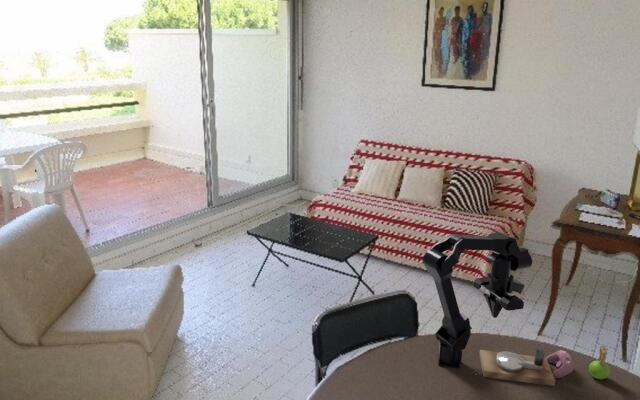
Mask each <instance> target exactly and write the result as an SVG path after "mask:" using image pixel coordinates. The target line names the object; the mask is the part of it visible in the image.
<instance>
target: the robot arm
mask: <svg viewBox="0 0 640 400" xmlns="http://www.w3.org/2000/svg"><path fill="white" fill-rule="evenodd" d="M452 248H453V249H452ZM451 249H452V252H451V253H450V254H449V255H447V254H445V253H443V252H446V251H448V250H451ZM465 251H491V254H489V255H488V256H487V257H486V259H487V260H489V261H491V266H490V267H491V268H490V273H489V272H487V275H486V276H485V277H478V278H477V277H476V278H475V280H473V287H474V288H476V289H477V290H480V289H481V288H482V287H484V290H485V292H484V293H483V297H484V298H485V301H486V303H487V307H488V308H489V310H490V311H489V312H490V314H491V316H492V317H493V318H495V319H497V318H498V316H499V314H500V312H501V311H502V309H504V310H505V311H508V312H509V311H517V310H524V307H525V301H524V300H523V299H521V298H520V297H518V296H516V295H514V294H513V292H514V293H517V294H519V295H521V294H522V293H523V292H524V289H525V286H526V284H525V283H522V282H521V281H519V280H518V279H517V278H516V279H515V278H514V277H515V276H514V275H513V274H511V271H514V272H515V271H520V270H526V269H530V268H531V267H532V265H533V259H532V256H531V254H530V253H529V251H530V250H529V249H528V248H526V247H519V245H518V240H517V238H515V237H513V236H511V235H508V234H506V233H503V232H501V231H498V232H491V233H490V234H488V235H470V234H469V235H468V234H457V233H453V234H450V235H449V236H447V238H446V239H444V240H443V239H442V240H441V241H440V242H437V243H435V244H433V246H431V247H430V249H428V250H426V252H425V253H424V254H423V256H422V264H423V265H424V267H425V269H426V271H427V272H428V273H429V274H430V276H431V277H432V279H433V282H434V284H435V288H436V291H437V294H438V299H439V301H440V305H441V308H442V312H443V318H442V320H441V324H442V325H441V326H440V327H439V328H438V329H437V331H436V332H435V334H434V335H435V339H436V340H437V341H439V345H438V347H439V348H438V353H437V363H438V364H437V365H438V366H440V367H448V368H456V369H460V368H461V367H460V366H461V365H460V364H462V358H463V357H462V356H463V350H466V347H467V344H468V342H469V340H470V337H471V335H472V329H473V328H472V327H471V323H470V319H469V318H468V317H467V316H466V315H464V314H463V313H461V312H460V308H459V305H458V300H457V297H456V294H455V290H454V286H453V283H452V279H451V277H452V274H453V273H454V266H455V265H456V264H457V263H458V262H459V260H460V257H461V255H462V253H463V252H465ZM510 294H513V295H510Z"/></svg>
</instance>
